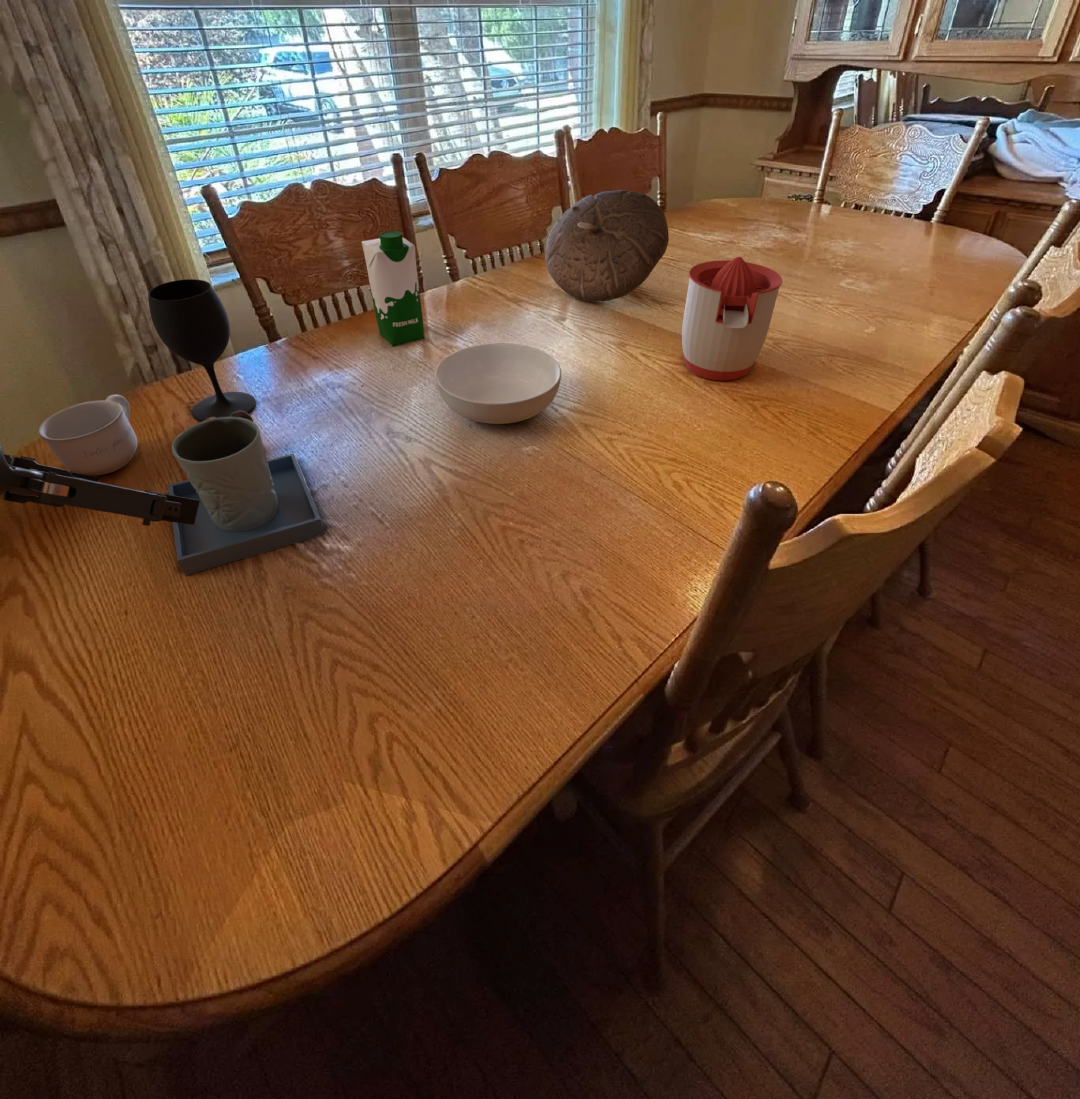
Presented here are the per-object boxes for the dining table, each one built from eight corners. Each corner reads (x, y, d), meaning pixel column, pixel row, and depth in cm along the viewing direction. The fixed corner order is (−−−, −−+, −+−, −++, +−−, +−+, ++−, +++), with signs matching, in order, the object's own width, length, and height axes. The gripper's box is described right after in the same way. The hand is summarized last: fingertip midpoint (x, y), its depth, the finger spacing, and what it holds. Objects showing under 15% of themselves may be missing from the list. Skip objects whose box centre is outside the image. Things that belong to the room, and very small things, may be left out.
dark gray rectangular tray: (174, 499, 89) (167, 484, 87) (298, 467, 95) (294, 452, 93) (185, 576, 78) (177, 560, 76) (325, 534, 83) (320, 519, 82)
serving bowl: (419, 429, 103) (413, 391, 98) (464, 372, 117) (461, 336, 113) (542, 449, 98) (542, 410, 94) (573, 386, 113) (574, 350, 109)
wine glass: (269, 400, 109) (232, 283, 96) (225, 430, 102) (177, 307, 89) (224, 388, 113) (181, 273, 99) (178, 416, 106) (125, 296, 92)
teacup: (105, 491, 90) (78, 443, 85) (47, 476, 93) (17, 429, 87) (175, 440, 100) (155, 395, 95) (122, 428, 103) (98, 383, 97)
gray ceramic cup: (282, 484, 91) (257, 410, 82) (287, 527, 84) (261, 451, 75) (206, 499, 88) (173, 424, 80) (205, 545, 81) (168, 468, 73)
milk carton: (390, 349, 124) (372, 241, 111) (373, 333, 130) (354, 228, 117) (430, 339, 128) (418, 233, 114) (413, 324, 133) (399, 221, 120)
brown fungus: (520, 302, 144) (520, 181, 138) (576, 310, 162) (578, 204, 155) (628, 294, 128) (634, 157, 122) (677, 304, 146) (684, 185, 139)
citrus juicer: (676, 389, 113) (695, 274, 99) (672, 347, 125) (689, 240, 112) (765, 395, 111) (797, 279, 98) (753, 351, 124) (779, 243, 110)
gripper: (-203, 479, 52) (47, 510, 73) (32, 541, 47) (230, 556, 67) (-182, 391, 52) (62, 447, 73) (56, 443, 47) (246, 488, 67)
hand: (143, 500), depth 70 cm, fingers open, 13 cm apart
